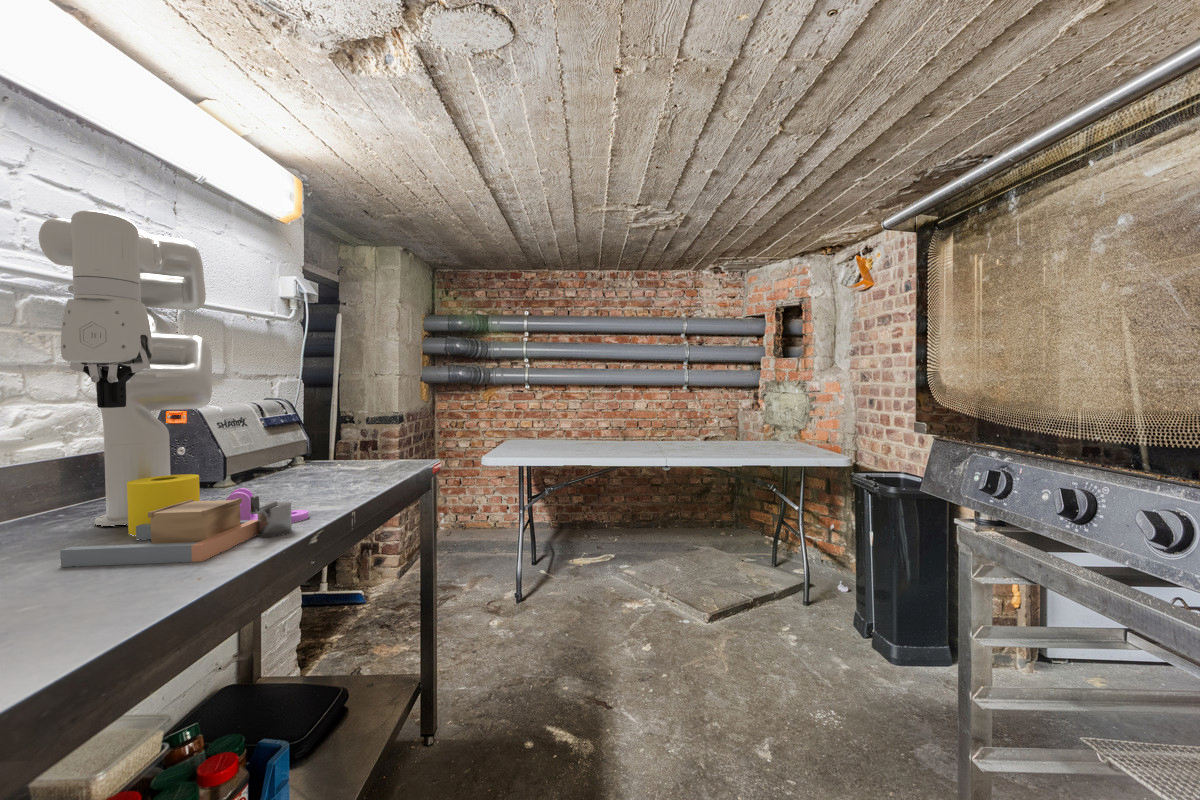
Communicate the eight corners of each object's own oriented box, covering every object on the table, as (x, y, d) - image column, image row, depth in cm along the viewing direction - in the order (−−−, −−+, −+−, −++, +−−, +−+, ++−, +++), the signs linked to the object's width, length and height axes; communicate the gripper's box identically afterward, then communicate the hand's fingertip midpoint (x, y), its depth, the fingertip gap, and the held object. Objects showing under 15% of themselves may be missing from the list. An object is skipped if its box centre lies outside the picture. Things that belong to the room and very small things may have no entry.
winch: (269, 529, 88) (268, 487, 87) (297, 528, 88) (296, 486, 88) (237, 544, 79) (236, 498, 79) (269, 543, 80) (268, 497, 79)
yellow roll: (203, 518, 96) (202, 472, 96) (196, 530, 88) (195, 479, 88) (135, 526, 91) (134, 478, 90) (121, 540, 82) (120, 486, 82)
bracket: (225, 531, 87) (224, 494, 87) (230, 524, 92) (229, 489, 92) (308, 521, 94) (307, 486, 94) (308, 515, 98) (308, 481, 98)
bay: (143, 537, 83) (143, 523, 83) (260, 533, 85) (260, 519, 85) (60, 567, 69) (60, 550, 69) (202, 561, 71) (202, 544, 71)
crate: (191, 541, 82) (189, 499, 81) (242, 539, 82) (241, 498, 82) (149, 558, 73) (147, 512, 73) (207, 556, 74) (205, 510, 74)
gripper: (30, 287, 71) (34, 408, 72) (139, 289, 73) (143, 408, 73) (79, 296, 79) (83, 406, 79) (177, 298, 80) (180, 406, 81)
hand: (112, 407), depth 76 cm, fingers closed
